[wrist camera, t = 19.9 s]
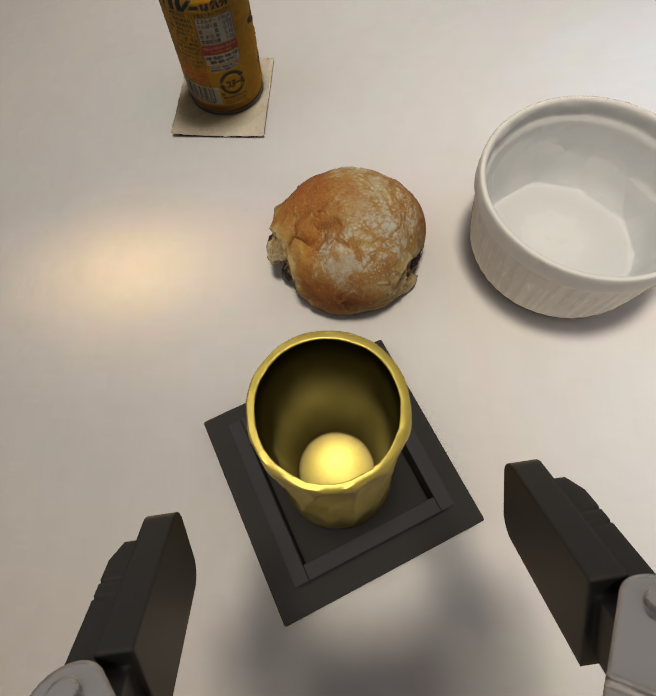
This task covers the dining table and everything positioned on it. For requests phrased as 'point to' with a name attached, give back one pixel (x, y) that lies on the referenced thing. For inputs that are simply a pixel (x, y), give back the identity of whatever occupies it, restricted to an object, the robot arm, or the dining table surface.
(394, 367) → the vase
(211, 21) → the condiment
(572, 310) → the ramekin
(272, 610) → the dining table surface
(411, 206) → the bread roll
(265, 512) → the base pad
